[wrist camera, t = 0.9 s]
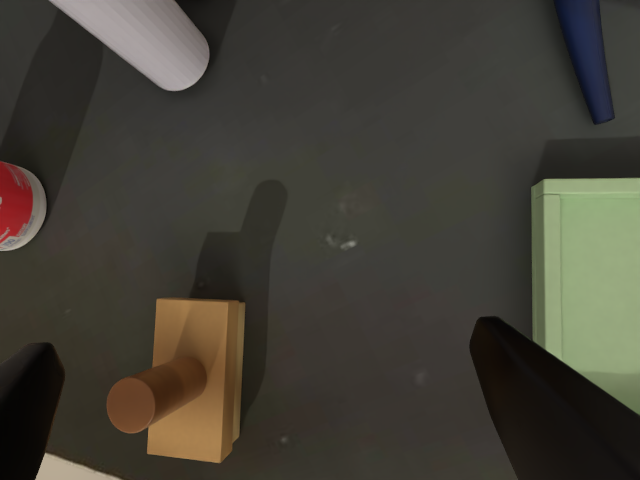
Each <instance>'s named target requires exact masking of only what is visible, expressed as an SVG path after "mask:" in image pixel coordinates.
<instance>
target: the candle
mask: <svg viewBox="0 0 640 480" xmlns="http://www.w3.org/2000/svg"><path fill="white" fill-rule="evenodd" d="M49 1H50V2H52V3H53V4H54V5H55V6H57V7H58V8H59V9H61V10H62V11H63V12H64V13H66V14H67V15H68V16H69V17H71V18H72V19H73V20H75V21H76V22H77V23H78V24H80V25H81V26H82V27H84V28H85V29H86V30H87V31H89V32H90V33H91V34H92V35H94V36H95V37H96V38H98V39H99V40H100V41H101V42H103V43H104V44H105V45H107V46H108V47H109V48H110V49H112V50H113V51H114V52H115V53H117V54H118V55H119V56H121V57H122V58H123V59H124V60H126V61H127V62H128V63H129V64H131V65H132V66H133V67H135V68H136V69H137V70H138V71H140V72H141V73H142V74H144V75H145V76H146V77H147V78H149V79H150V80H151V81H152V82H154V83H155V84H156V85H158V86H159V87H161V88H163V89H165V90H169V91H179V90H183V89H186V88H188V87H190V86H192V85H193V84H194V83H196V82H197V81H198V80H199V79H200V78H201V76H202V75H203V73H204V72H205V70H206V68H207V65H208V62H209V47H208V43H207V41H206V39H205V37H204V36H203V35H202V33H201V32H200V31H199V30H198V28H197V27H196V26H195V25H194V24H193V22H192V21H191V20H190V19H189V17H188V16H187V15H186V14H185V13H184V11H183V10H182V9H181V8H180V7H179V5H178V4H177V3H176V2H175V0H49Z"/></svg>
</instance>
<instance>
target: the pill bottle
mask: <svg viewBox="0 0 640 480" xmlns="http://www.w3.org/2000/svg"><path fill="white" fill-rule="evenodd" d="M46 208H47V203H46V195H45V192H44V189H43V186H42V185H41V183H40V181H39V180H38V179H37V177H36V176H35V175H34V174H32V173H31V172H30V171H28V170H26V169H24V168H22V167H19V166H16V165H12V164H9V163H6V162H2V161H0V251H8V250H13V249H17V248H19V247H21V246H23V245H25V244H26V243H28V242H29V241H30V240H31V239H32V238H33V237H34V236H35V235H36V234H37V232H38V231H39V229H40V228H41V226H42V224H43V221H44V219H45V215H46Z"/></svg>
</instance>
